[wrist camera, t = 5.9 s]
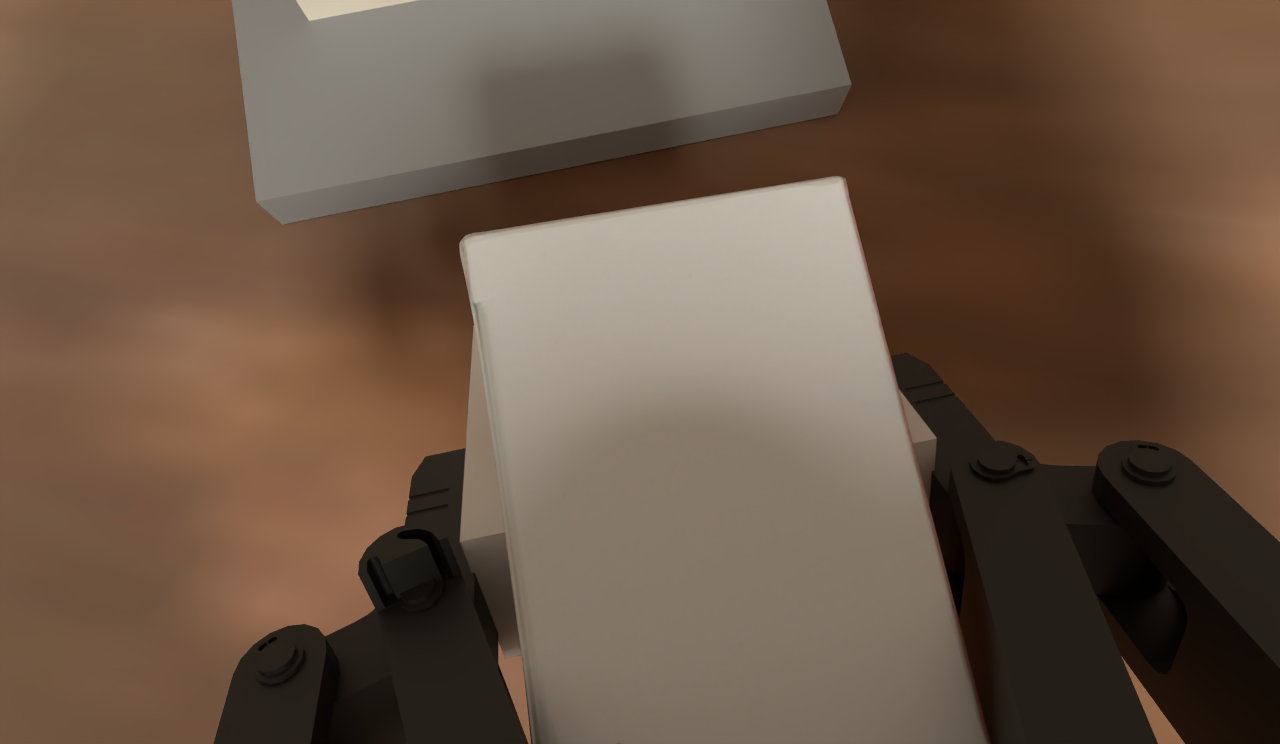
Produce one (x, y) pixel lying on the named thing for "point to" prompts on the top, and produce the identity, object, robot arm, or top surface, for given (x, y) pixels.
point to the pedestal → (509, 88)
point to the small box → (713, 480)
